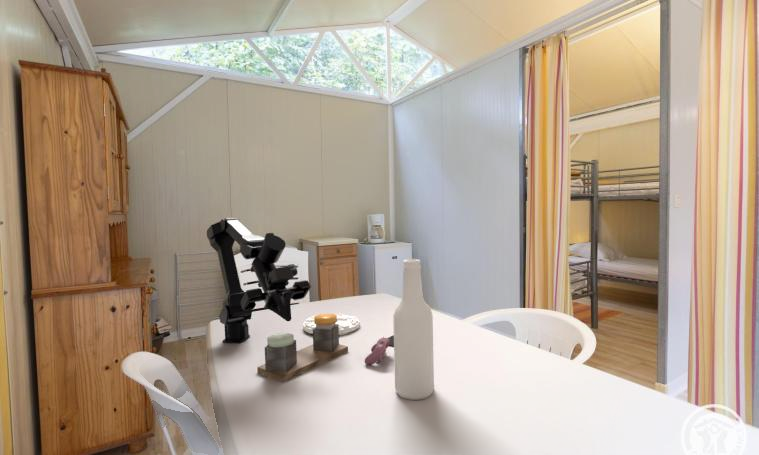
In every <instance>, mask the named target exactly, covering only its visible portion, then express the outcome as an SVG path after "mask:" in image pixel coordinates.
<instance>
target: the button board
mask: <svg viewBox="0 0 759 455" xmlns="http://www.w3.org/2000/svg"><path fill="white" fill-rule="evenodd" d="M339 338H340V335H339V326H338V324H335V327H334V328H333V329H332V330H321V329H316V327H315V328H314V329H313V334H312V344H311V345H308V346H305V347H303V348H300V349H298V350H297V339H294V343H293V344H291V345H289V346H287V347H269V346H268V345H265V347H264V362H265V363H264V364H262V365H258V366H257V373H258V374H260V375H263V376H265V377H267V378H270V379H274V380H275V381H278V382H280V383H285V382H286V381H288V380H290V379H293V378H296V377H297V376H299V375H302V374H303V373H305V372H308V371H310V370H312V369H314V368H315V367H316V368H317V367H318V366H320V365H322V364H324V363H327V362H329V361H330V360H333V359H335V358H337V357H339V356H342V355H344V354H346V353H348V352H349V346H347V345H344V344H340V339H339Z"/></svg>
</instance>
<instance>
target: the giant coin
mask: <svg viewBox="0 0 759 455" xmlns="http://www.w3.org/2000/svg"><path fill="white" fill-rule="evenodd" d="M336 315H337V322H336V323H335V324H338V326H339V336H341V335H342V336H343V335H347V334H348V333H352V332H353V331H356V330H357V329H359V328H360V325H361V324H360V319H359V318H358V317H357V316H355V315H354V316H353V315H347V314H343V313H341V312H340V313H337V314H336ZM315 316H316V315H313V316H310V317H307V318H306V320H305V321H304V322H303V323H302V329H303V331H304V332H306V333H308V334H312V335H313V329H314V328H315V327H316V324H315V323H314V317H315Z"/></svg>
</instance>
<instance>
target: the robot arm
mask: <svg viewBox="0 0 759 455" xmlns="http://www.w3.org/2000/svg"><path fill="white" fill-rule="evenodd" d="M206 238H207V240H208V241H209V245H210V246H211V248H212V249H214V250H215V251H216V253H217V256H218V261H219V266H220V270H221V275H222V276H221V277H222V280H223V284H224V288H225V296H224V298H223V301H222V309H221V311H220V314H219V316H218V317H219V318H218V319H219V322H220V323H221V324H223V325H224V339H222V340H221V341H222V343H237V344H239V343H240V344H241V343H243V342H244V341H246V339H248V338H250V337H251V335H250V333H249V324H248V320H251V319H252V315H253V310H254V309H255V307H256V306H257V302H262V301H263V302H264V306H263V308H264V309H265V310H267V309H268V310H269V311H271V312H273V313H275V314H276V315H278V316H279V317H280V318H282V319H283V320H284V321H287V322H290V321H291V320H292V310H291V306H292V305H291V303H292V302H291V301H292V300H294V301H298V300H303V299H304V298H306V295H307V294H308V293H309V291H310V289H311V288H312V286H311V284H310V282H309V280H303V279H302V280H299V281H294V283H293V285H292V286H291V287H287V286H288V285H289V284H290V282H289V281H290V280H291V279H293V278H294V277H295V276H297V275H298V269H297V267H296V265H295V264H294V263H291V264H288V265H286V266H280V267H276V264H277V263H278V261H279V260H280V258H281V256H282V254H283V252H284V250H285V248H286V241H285V240H284V239H283V238H281V237H280V236H278V235H275V234H274V232H266V234H265V235H264V237H263V236H261V235H257V234H253V233H252V232H251V231H249V230H248V229H247V227H245V226H244V225H243V224H242V223H241V222H240V219H239V218H236V217H224V218H222V219H221V220H220V221H218V222H216V223H215V222H214V224H211V225H210V226H209V227H208V228H207V230H206ZM235 242H236V244H238V245H239V246H240V247H239V253H240V254H241V256H242V257H243V258H244V259H245V260H252V263H251V267H250V272H251V273H255V275H256V278H257V280H258V284H257V286H258V288H251V289H245V290H243V288H242V285H241V280H240V277H239V272H238V267H237V263H236V260H235V259H236V258H235V255H234V250H233V246H234V244H235Z"/></svg>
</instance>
